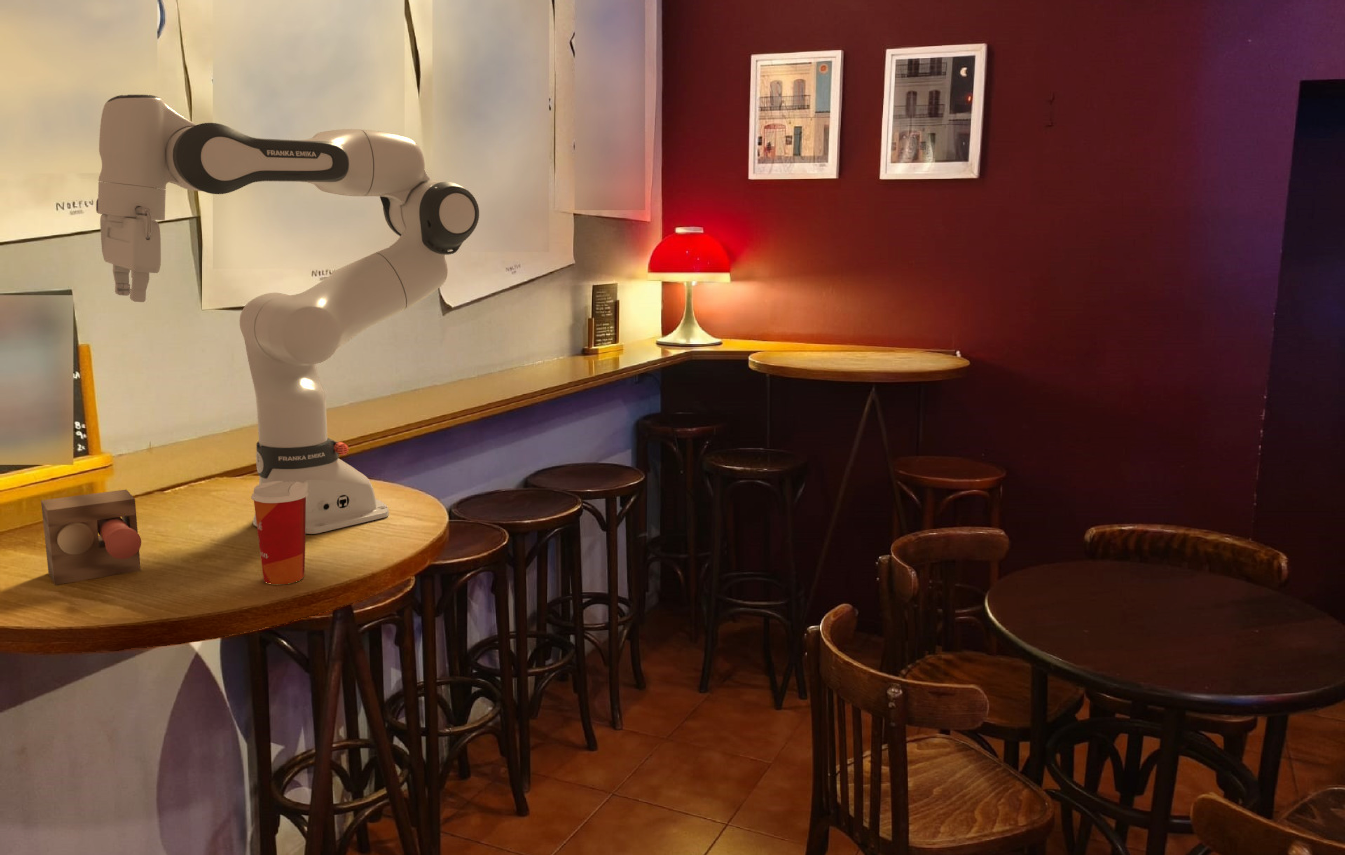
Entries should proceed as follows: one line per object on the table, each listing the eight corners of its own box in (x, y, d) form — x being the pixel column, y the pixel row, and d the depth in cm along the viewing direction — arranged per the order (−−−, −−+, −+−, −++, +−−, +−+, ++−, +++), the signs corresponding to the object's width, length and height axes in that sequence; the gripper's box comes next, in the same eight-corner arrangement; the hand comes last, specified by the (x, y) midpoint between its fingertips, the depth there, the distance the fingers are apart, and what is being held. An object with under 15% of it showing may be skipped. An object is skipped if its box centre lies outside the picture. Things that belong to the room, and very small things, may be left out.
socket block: (132, 558, 153) (126, 489, 150) (142, 572, 147) (136, 500, 145) (48, 572, 146) (41, 500, 144) (55, 587, 141) (48, 512, 138)
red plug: (126, 536, 150) (124, 508, 149) (142, 555, 142) (140, 526, 141) (93, 541, 147) (90, 512, 146) (107, 561, 139) (104, 531, 138)
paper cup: (272, 567, 151) (267, 478, 148) (321, 571, 150) (317, 481, 147) (245, 586, 143) (239, 492, 140) (296, 590, 142) (291, 495, 140)
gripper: (174, 210, 143) (171, 306, 146) (138, 205, 159) (136, 293, 161) (125, 205, 139) (123, 304, 142) (93, 200, 154) (92, 290, 157)
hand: (129, 298), depth 151 cm, fingers open, 8 cm apart
